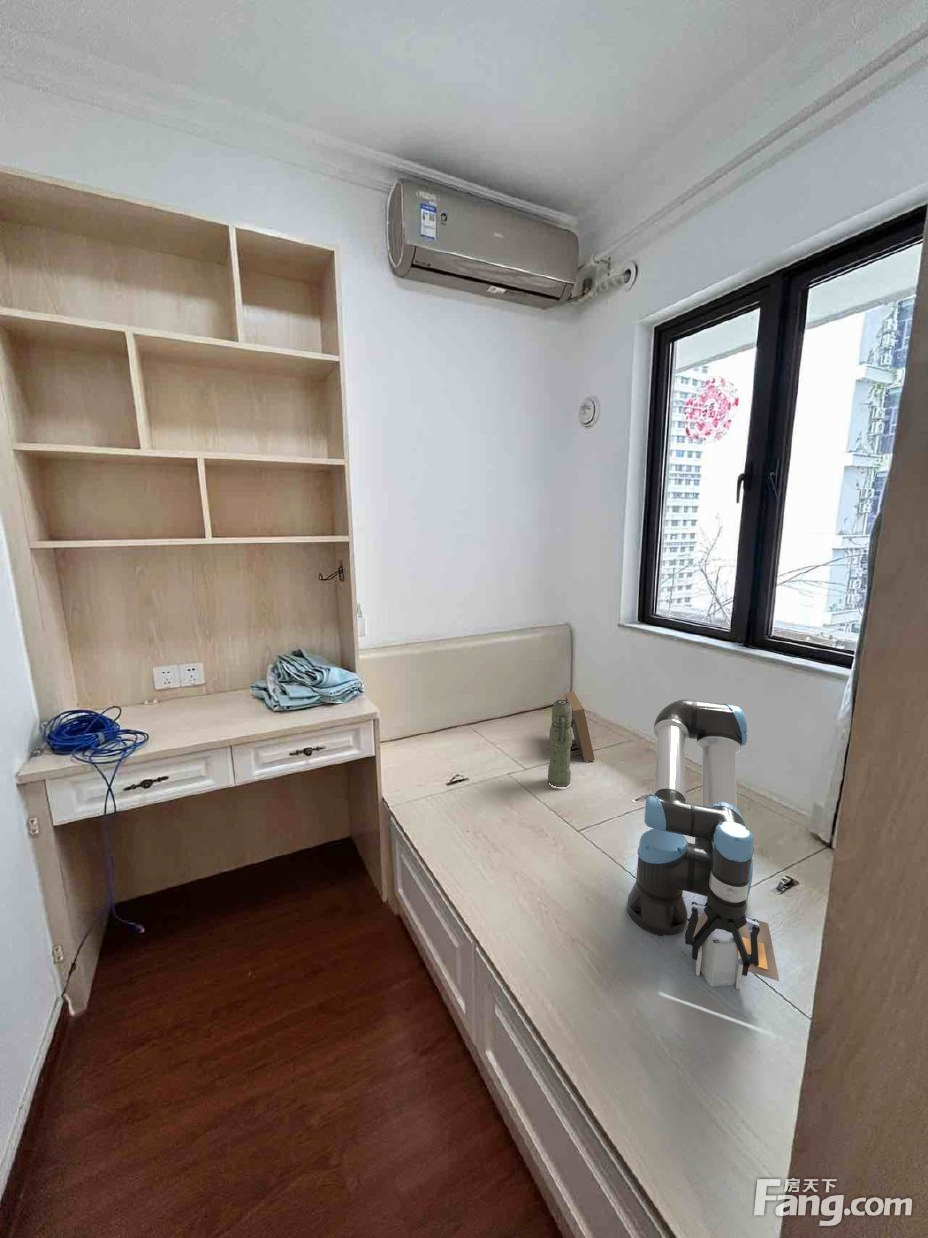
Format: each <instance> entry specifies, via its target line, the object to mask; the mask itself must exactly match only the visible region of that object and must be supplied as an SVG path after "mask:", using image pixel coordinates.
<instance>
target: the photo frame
mask: <svg viewBox="0 0 928 1238" xmlns="http://www.w3.org/2000/svg"><path fill="white" fill-rule="evenodd" d="M564 698H565V700H566V701H568V702H570V705H571V708H572V719H571V728H572V735H573V738H574V741H576V742H575V744H576V743H577V744H576V745H578V746H577V748H578V747H579V748H578V750H579V749H580V750H579V752H580V751H581V752H580V755H581V756H583V757H582V758H584V759H583V761H584V760H585V761H589V762H593V761H596V758H595V754H594V750H593V746H592V740H591V736H590V732H589V726H588V723H587V718H586V713H585V709H584V707H583V705H582V703H581V701H580V700H579V698H578V697H577V694H576V692H575V691H573V690H572V691H568V692H564ZM585 761H584V762H585Z"/></svg>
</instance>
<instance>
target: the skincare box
mask: <svg viewBox="0 0 928 1238" xmlns="http://www.w3.org/2000/svg"><path fill="white" fill-rule="evenodd" d="M738 952H739V950H738V948H737V945H736V942H735V939H734V938H733V935H732V932H731V933H730V932H727V931H725V930H720V929H716V930H715V931H714V932H712V933H711V934H710V935H709V937H708V938H707V939H706V940H705V942H704V945H703V954H702V958H701V966H700V973H702V975H703V977H704V978H705V979H706V982H707V984H708V985H709V986H710V987H720V986H722V987H723V986H730V985H731V986H733V985H736V983H735V976H736V968H737V960H738Z"/></svg>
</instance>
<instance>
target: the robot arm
mask: <svg viewBox="0 0 928 1238" xmlns="http://www.w3.org/2000/svg"><path fill="white" fill-rule="evenodd" d="M653 734H654V737H655V738H656V748H655V749H656V753H655V766H654V767H655V770H654V771H655V772H654V787H653V788H654V790H653V795H648V796H646V798H645V809H644V810H645V811H644V824H645V826H646V827H648V828H651V829H649V830H647V831H645V832H644V833H643V834H642V835H641V836H640V838H639V842H638V843H639V844H638V847H637V856H638V857H637V864H636V865H637V866H636V867H637V868H636V875H635V877H636V878H635V882H634V885H633V886H632V888H631V890H630V892H629V894H628V897H627V904H626V908H627V912H628V915H629V917H630V918H631V920H632V922H634V923H635V924H636V925H637V926H638V927H640V928H641V929H643V930H644V931H646V932H648V933H651V934H653V935H656V936H662V937H664V936H675V935H678V934H681V933H683V931H685V933H684V934H685V935H684V942H685V945H687V946H689V945H690V946H691V948H692V950H691V959H692V960H694V961H695V975H696V976H698V977H699V976H700V975H701V974H700V973H701V963H702V944H703V943H704V942H705V940H706V939H707V938H708V937H709V935H710V934H711V933H712V932H714V931H715V929H720V930H725V931H727V932H730V933H731V932H732V935H733V938H734V939H735V942H736V945H737V948H738V950H739V953H740V955H738V960H737V968H736V976H735V989H737V990H741V983H742V977H743V976H744V977H747V976H748V973H749V971H748V968H749V967H750V966H749V965H750V964H753V965H754V966H758V965H759V958H758V942H757V936H758V934H759V932H760V928H759V922H758V919H756V918H752V919H753V920H750V919H748V918H749V917H748V918H746V917H747V916H746V910H747V909H746V908H747V905H746V901H747V898H748V897H749V895H750V892H751V888H752V881H753V876H754V875H753V874H754V863H753V862H754V861H753V856H754V853H755V847H754V845H755V843H754V842H755V838H754V834H753V833H752V832H751V831H750V830H749V829H748V827H746V826H745V825H746V824H745V821H744V819H743V817H742V815H741V813H740V811H739V809H738V805H737V803H738V802H737V769H736V768H737V767H736V763H737V762H736V755H737V754H738V753H740V752H741V750H742V747H744V746H746V745H747V743H748V725H747V719H746V716H745V712H744V711H743V709H742V708H741V707H739V706H737V705H732V704H728V703H718V702H717V703H716V702H709V701H702V700H701V701H700V700H695V699H694V700H692V699H679V700H676V701H673V702H671V703H669V704H667V705H666V706H664V708H663V709H661V711H660V712H659V713H658V714H657V716H656V718H655V720H654V725H653ZM688 739H691V740H696V746H697V748H698V749H699V750H700V751H702V754H701V805H699V804H694V803H688V802H687V801H686V797H687V796H686V742H687V740H688ZM685 836H688V837H691V838H694V843H692V842H688V839H687V838H686V837H685ZM683 891H684V892H687V893H688V892H689V893H692V894H695V895H700V896H703V897H706V898H707V899H706V902H705V903H704V904H703V905H704V906H701V905H697V903H698V902H695V901H692V902H691V913H690V917H688V910H687V906H686V903H685V900H684V899H685V898H684V895H683ZM748 899H749V898H748ZM747 902H748V901H747ZM702 913H705V914H706V915H707V917H708V918H707V921H706V922H705V924H704V925H703V926H702V927H701V929H700V930H699V931H698V933H697V934H696V935H695V937H694V936H693V935H694V932H695V929H696V925H697V922H698V917H700V916H701V915H702ZM688 918H689V920H688ZM744 925H747V927H748V930H749V931H750V940H751V954H748V953H747V951H746V948H745V945H744V942H743V940H742V937H741V934H740V931H739V929H740V928H741V927H743V926H744ZM685 929H686V930H685Z"/></svg>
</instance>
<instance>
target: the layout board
mask: <svg viewBox="0 0 928 1238" xmlns="http://www.w3.org/2000/svg"><path fill="white" fill-rule="evenodd" d="M696 903H697V905H701V906H704V905H705V904H702V903H699V902H696ZM707 918H708V917H707V915H706V914H705V913H702V915H701V916H700V917H698V922H697V925H696V929H695V932H694V935H693V936H694V937H695V935H696V934H697V933H698V931H699V930H700V929H701V927H702V926H703V925H704V924H705V922H706V921H707ZM746 918H748V919H750V920H753V919H754V918H752V917H751V918H750V917H748V916H746ZM757 920H758V919H757ZM758 922H759V928H760V932H759V934H758V936H757V942H758V958H759V965H758V966H754V965H753V964H750V965H749V966H750V967H749V968H748V972H750V973H754V974H757V975H759V976H763V977H766V978H769V979H772V980H775V981H780V978H779V972H778V968H777V963H776V958H775V952H774V946H773V941H772V936H771V931H770V926H769V922H766V921H765V922H764V921H762V920H758ZM715 930H716V929H715ZM739 931H740V934H741V937H742V940H743V942H744V945H745V948H746V951H747V953H748V954H751V940H750V931H749V930H748V927H747V925H744V926H743V927H741V928H740V929H739ZM703 945H704V943H703V944H702V954H703ZM738 955H740V953H739V952H738Z"/></svg>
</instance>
